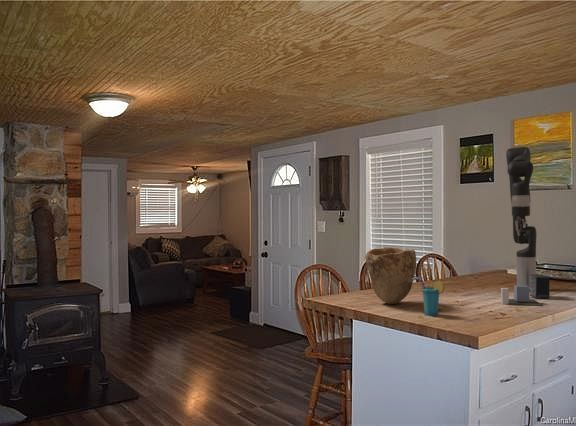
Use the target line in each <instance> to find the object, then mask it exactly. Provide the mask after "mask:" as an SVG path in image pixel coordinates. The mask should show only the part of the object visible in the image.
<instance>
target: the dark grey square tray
mask: <svg viewBox="0 0 576 426" xmlns="http://www.w3.org/2000/svg"><path fill="white" fill-rule="evenodd" d="M508 306H519V307H520V306H521V307H523V306H525V307H526V306H527V307H528V306H529V307H543V306H544V305H543V304H542V303H541V302H539V301H537V299H535V298H534V299H530V298H529V302H519V301H516V300H514V298H509V304H508Z"/></svg>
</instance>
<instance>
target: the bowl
mask: <svg viewBox="0 0 576 426" xmlns="http://www.w3.org/2000/svg"><path fill="white" fill-rule="evenodd" d="M364 260H365V263H366V268H367V270H368V274H369V277H370V281H371V285H372V288H373V289H372V290H373V291H374V293H375V294H376V296H377V297H378V299H380V300H381V301H382V302H384V303H386V304H388V305H396V304H399V303H400V302H402V301H403V300H405V298H406V297H407V296H408V295H409V293H410V291H411V289H412V286H413V282H414V280H412V278H416V277H415V276H416V272H417V254H416V251H415V249H412V248H411V249H410V248H405V249H402V248H399V247H387V246H386V247H382V248H380V247H379V248H371V249H370V250H368V251H367V253H366V254H365V257H364Z"/></svg>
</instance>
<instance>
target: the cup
mask: <svg viewBox="0 0 576 426" xmlns="http://www.w3.org/2000/svg"><path fill="white" fill-rule="evenodd" d="M412 280H413V281H414V280H416V281H417V280H420V283H421V286H422V287H421V292H422V300H423V310H424V315H425V316H426V317H427V316H428V317H437V316H436V315H438V314H439V299H440V294H442V293H444V290H445V285H444V283H443V282H442V281H441V280H436V281H434V283H433V286H425V283H424V281H423V279H422V277H420V276H416V277H414V278H412Z"/></svg>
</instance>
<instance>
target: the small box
mask: <svg viewBox="0 0 576 426" xmlns="http://www.w3.org/2000/svg"><path fill="white" fill-rule="evenodd" d="M529 297H532V298H534V300H550V276H546V275H544V274H536V275H534V274H530V290H529Z"/></svg>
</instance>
